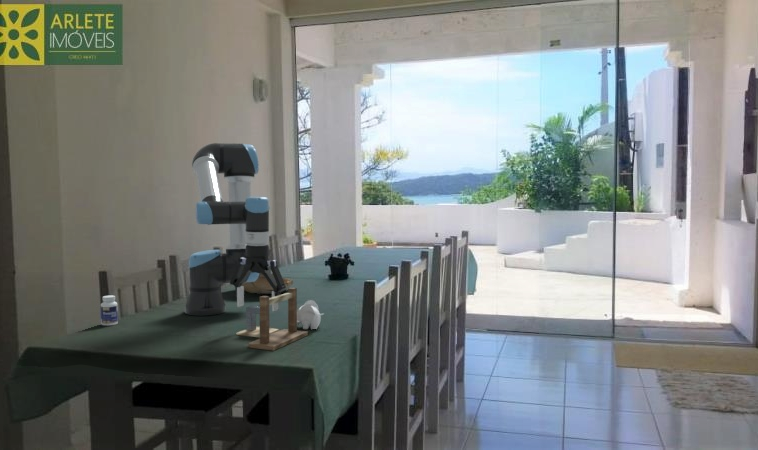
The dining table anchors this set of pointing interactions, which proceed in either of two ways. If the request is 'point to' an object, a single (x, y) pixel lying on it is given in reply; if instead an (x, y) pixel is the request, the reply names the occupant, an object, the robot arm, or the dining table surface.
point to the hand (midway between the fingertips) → (257, 308)
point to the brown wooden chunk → (263, 285)
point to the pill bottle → (109, 311)
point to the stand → (283, 335)
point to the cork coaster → (255, 332)
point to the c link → (251, 317)
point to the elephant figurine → (309, 315)
